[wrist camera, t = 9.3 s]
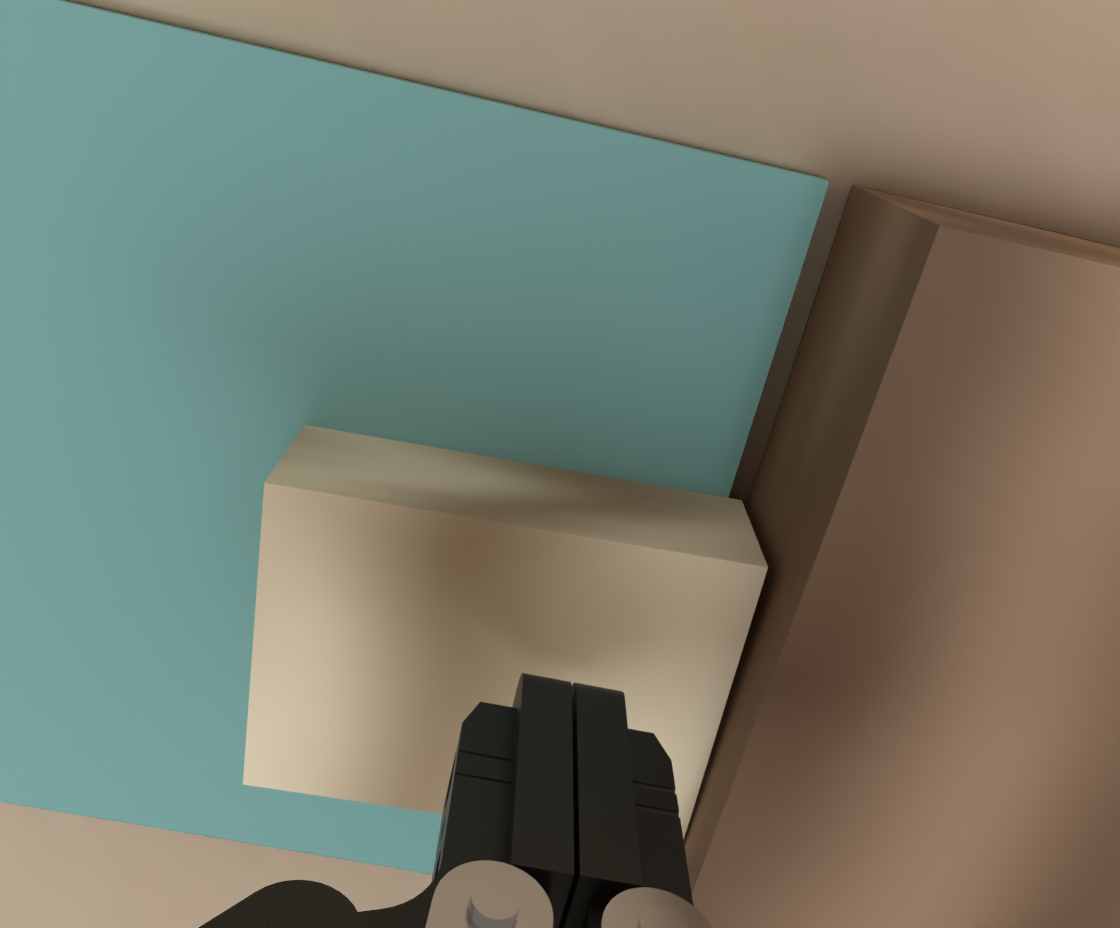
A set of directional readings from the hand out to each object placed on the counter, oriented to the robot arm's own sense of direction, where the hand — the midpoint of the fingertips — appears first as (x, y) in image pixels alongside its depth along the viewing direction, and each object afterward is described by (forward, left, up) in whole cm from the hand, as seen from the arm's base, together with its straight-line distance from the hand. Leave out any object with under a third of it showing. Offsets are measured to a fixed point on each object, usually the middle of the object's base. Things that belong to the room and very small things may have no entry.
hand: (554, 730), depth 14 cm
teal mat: (+5, 0, -5) cm, 7 cm away
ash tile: (+1, +1, -5) cm, 5 cm away
